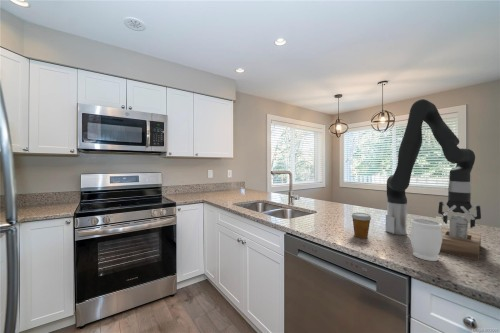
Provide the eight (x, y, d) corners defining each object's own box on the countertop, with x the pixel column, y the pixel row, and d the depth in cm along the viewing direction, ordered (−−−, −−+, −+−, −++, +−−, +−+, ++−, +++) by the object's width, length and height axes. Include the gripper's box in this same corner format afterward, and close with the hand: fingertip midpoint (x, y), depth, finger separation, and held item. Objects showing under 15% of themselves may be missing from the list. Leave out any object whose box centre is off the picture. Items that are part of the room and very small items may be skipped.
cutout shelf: (478, 260, 87) (479, 246, 87) (433, 250, 98) (434, 237, 98) (480, 245, 103) (480, 233, 103) (441, 238, 114) (442, 226, 113)
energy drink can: (460, 246, 103) (461, 215, 102) (470, 251, 97) (471, 218, 97) (446, 244, 104) (446, 214, 104) (454, 249, 98) (455, 217, 98)
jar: (403, 252, 95) (404, 218, 95) (425, 251, 96) (425, 218, 96) (425, 263, 85) (425, 225, 84) (449, 262, 85) (449, 225, 85)
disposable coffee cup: (370, 235, 118) (370, 213, 117) (371, 240, 109) (372, 217, 109) (351, 232, 122) (351, 211, 121) (351, 237, 113) (351, 215, 113)
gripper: (481, 192, 97) (480, 227, 97) (440, 188, 108) (439, 220, 108) (481, 193, 92) (480, 230, 92) (437, 190, 103) (437, 223, 103)
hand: (458, 225), depth 100 cm, fingers open, 8 cm apart
